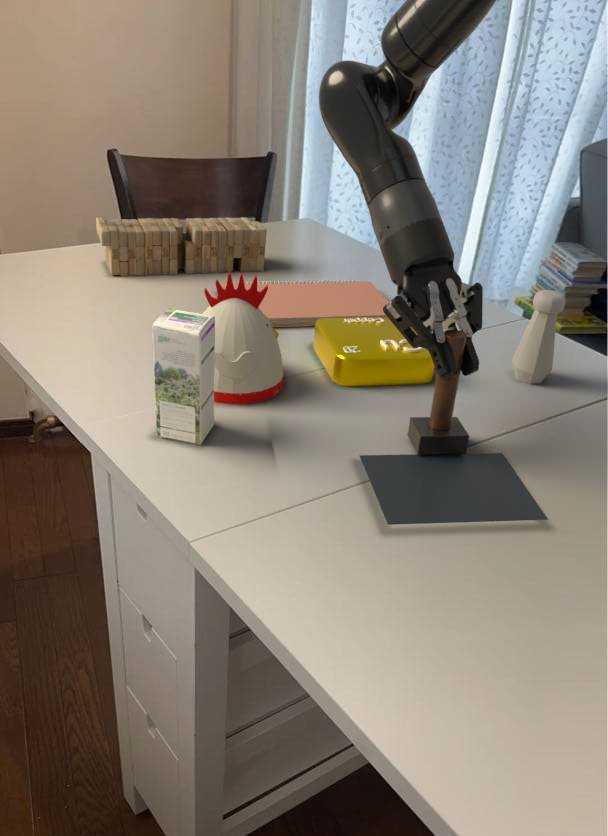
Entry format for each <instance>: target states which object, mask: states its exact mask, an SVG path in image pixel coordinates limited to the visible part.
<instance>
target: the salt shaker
mask: <svg viewBox="0 0 608 836" xmlns="http://www.w3.org/2000/svg"><path fill="white" fill-rule="evenodd" d="M532 306H533V309H534V312H533V314H532V316H531V317H530V320H529V322H528V324H527V327H526V329H525V331H524V333H523V335H522V337H521V339H520V342H519V344H518V345H517V348H516V350H515V353H514V354H513V357H512V359H511V360H512V361H511V364H512V368H513V369H512V370H513V375H514V376H515V378H516V379H517V381H520V382H523V383H526V384H529V385H533V384H542V382H544V380H545V379H546V377H547V376H549V374H550V373H551V372H552V370H553V367H554V354H555V343H556V342H555V341H556V328H557V322H558V321H557V319H558V314H561V313H562V312H563V310H564V309H565V306H566V297H565V295H564V293H562V292H559V291H556V290H553V289H541V290H539V291H538V292H536V293H535V294H534V297H533V300H532Z"/></svg>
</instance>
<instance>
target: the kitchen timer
mask: <svg viewBox="0 0 608 836" xmlns="http://www.w3.org/2000/svg"><path fill="white" fill-rule="evenodd" d="M257 281H258V275H257V274H255V275H254V277H253V279H252V281H251V282H252V284H251V287H250V289H249V290H246V289H245V286H244V284H245V280H244V276H243V272H240V275H239V279H238V282H239V284H238V288H237V289H234V287H233V282H234V281H233V278H232V274H231V272H227V280H226V283H225V284H226V288H225V289H223V288H222V286H221V285H220V284H221V283H220V281H219V280H218V279H215V289H216V293H217V296H216V297H214V296H212V295H211V293H210V292H209V290H208V289H207V288H206V287H204V290H203V291H204V295H205V298H206V301H207V302H208V305H209V306H208V307H207V308H206V309H205V310H204V311H203V312H202V314H205V315H211V316H214V317H215V363H214V403H219V404H227V405H249V404H253V403H259V402H263V401H266V400H268V399H271V398H273V397H274V396H277V394H279V393H280V392H281V390H282V388H283V386H284V377H285V376H284V375H285V374H284V364H283V357H282V353H281V349H280V348H281V347H280V344H279V340H278V337H279V335H280V334H279V332H278V331H277V330H276V329H275V327H272V325H271V324H270V322H269V320H268V318H267V317H266V316H265V315H264V314H263V312H262V311H261V310H260V309H259V308H258V307H259V305H260V304H261V302H262V300H263V299H264V297H265V295H266V293H267V290H268V285H266V286H265V288H264V289H263V290H262V291H261V292H258V291H257Z"/></svg>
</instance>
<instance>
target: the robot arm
mask: <svg viewBox="0 0 608 836" xmlns="http://www.w3.org/2000/svg"><path fill="white" fill-rule="evenodd" d="M497 1H498V0H404V2H403V3H402V5H400V7H399V8H398V9H397V11H396V12H395V13H394V14H393V15H392V16H391V17H390V19H389V20H388V22H386V24H385V26H384V27H383V29H382V32H381V36H380V46H381V51H382V53H383V56H384V58H385V59H384V61H383V62H382V63H380V64H379V65H378V66H376V65H371V64H367V63H364V62H360V61H357V60H356V61H355V60H349V59H348V60H340V61H337V62H336V63H333V64H332V65H330V66H329V67H328V69H327V70H326V71H325V73H324V74H323V76H322V78H321V80H320V85H319V88H318V89H319V90H318V107H319V112H320V116H321V119H322V122H323V124H324V126H325V128H326V131H327V133H328V134H329V136H330V138H331V139H332V140H333V143H334V144H335V145H336V147H337V148H338V150H339V152H340V153H341V155H342V157H343V158H344V160H345V161H346V162H347V164H348V166H349V167H350V168H351V169H352V170H353V172H354V174H355V175H356V177H357V180H358V183H359V186H360V190H361V193H362V195H363V198H364V201H365V203H366V207H367V209H368V212H369V216H370V222H371V226H372V229H373V232H374V235H375V238H376V241H377V243H378V247H379V249H380V252H381V255H382V258H383V261H384V264H385V266H386V269H387V272H388V274H389V277H390V281H391V282H392V284H393V285H395V286H397V289H396V294H397V295H395V296H394V297H393V298H392V299H391V300H389V302H388V303H387V304H386V305H385V306H384V307H383V312H384V313H385V315H386V316H387V317H388V318H389V319H390V321H391V322H392V323H393V324H394V325H395V327H396V328H397V329H398V330H399V332H400V333H401V334H402V335H403V336H404V338H405V339H406V340H407V341H408V343H409V344H410V345H411V346H412V347H413V348H418V347H422V348H425V349H426V350H427V351H429V352H430V355H431V358H432V361H433V363H434V370H435V373H436V375H437V374H438V375H439V376H441V379H442V380H443V381H446V380H450V379H451V378H453V377H455V376H456V375H457V374H458V370H457V367H456V364H455V361H454V359H453V356H452V353H451V350H450V347H449V345H448V343H445V344H444V342H445V334H444V332H445V331H447V330H458V329H459V330H458V331H462V332H464V333H466V334H467V339H466V344H465V349H464V355H463V360H462V366H461V371H460V372H461V374H462V375H463V376H464V377H466V376H470V375H471V376H472V374H474V373H476V372H478V371H479V370H480V359H479V356H478V354H477V351H476V348H475V345H474V342H473V339H472V338H473V335H474V334H476V333H477V332H478V331H480V330H482V329H483V303H484V302H483V298H484V297H483V296H484V295H483V290H484V288H483V285H482V284H481V283H480V282H475V283H474V284H472V285H471V284H469V283H465V282H463V281H462V277H461V276H460V275H459V273H457V271H456V269H455V267H454V262H455V252H454V249H453V246H452V243H451V241H450V237H449V236H448V233H447V230H446V227H445V224H444V222H443V219H442V215H441V213H440V210H439V206H438V205H437V202H436V200H435V197H434V195H433V194H432V192H431V190H430V188H429V186H428V183H427V181H426V179H425V176H424V174H423V170H422V167H421V165H420V162H419V159H418V156H417V154H416V151H415V149H414V147H413V146H412V144H411V142H410V141H409V140H408V139H406V138H405V137H403V136H402V135H400V134H398V133H396V132H395V131H394V130H395V129H396V128H397V127H399V126H400V125H401V124H402V123H403V122H404V121H405V119H406V118H407V116H409V114H410V112H411V111H412V109H413V108H414V106H415V104H416V102H417V101H418V99H419V97H420V96H421V94H422V93H423V91H424V89H425V88H426V86H427V84H428V82H429V80H430V78H431V77H432V75H433V74H434V73H435V72H436V71H437V70H438V69H440V67H441V66H442V65H443V64H444V63H445V62H446V61H447V60H448V59H449V58H450V57H451V56H452V55H453V54H454V53H455V52H456V51H457V50H458V49H459V48H460V47H461V46H462V44H463V43H465V42H466V41H467V39H468V38H469V37H470V36H471V35H472V34H473V33H474V32H475V30H477V28H478V27H479V26H480V25H481V23H482V22H483V21H484V19H485V18H486V17H487V16H488V14H489V13H490V11H491V10H492V8H493V7H494V5H496V3H497ZM451 314H452V315H451ZM450 315H451V316H450ZM449 316H450V317H449ZM410 327H412V328H413V329H414V331H415V332H416V333H417V334H418V335H416V334H415V332H414V331H413V330H412V329H411V328H410ZM444 330H445V331H444Z"/></svg>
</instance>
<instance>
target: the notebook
mask: <svg viewBox="0 0 608 836" xmlns="http://www.w3.org/2000/svg"><path fill="white" fill-rule="evenodd" d="M232 282H233V287H234V289H237V288H238V284H239V281H232ZM252 282H253V281H249V282H248V281H247V280H246V281H244V286H245V289H246V290H249V289H250V287H251V284H252ZM226 284H227V283H220V285H221V286H222V288H223V289H225V288H226ZM266 285H268V290H267V293H266V295H265V297H264V299H263V300H262V302H261V304H260V305H259V307H258V308H259V309H260V310H261V311H262V312H263V314H264V315H265V316H266V317H267V318H268V320H269V322H270V324H271V325H272V327H273V328H295V327H298V328H299V327H315V323H316V321H317V320H318V319H321V318H358V317H359V318H364V317H366V318H370V317H387V316H386V315H385V313H384V312H383V307H384V306H385V305H386V304H387V303H388V302H390V300H388V299H387V298H386V297H385V296H384V295H383V293H381V291H380V290H379V289H377V287H376V286H375V285H374V284H373V283H372V282H371V281H358V280H357V279H354V280H353V279H350V280H349V279H346V280H345V279H343V280H342V279H339V280H338V279H336V280H334V279H332V280H330V279H328V280H326V279H324V280H317V279H316V281H315V280H314V279H313V280H304V281H303V280H300V281H299V280H292V281H291V280H289V281H288V280H285V281H283V280H277V281H275V280H274V281H271V280H269V281H267V280H265V281H263V280H261V282H260V281H259V280H257V291H258V292H261V291H262V290H263V289H264V288H265V286H266Z"/></svg>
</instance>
